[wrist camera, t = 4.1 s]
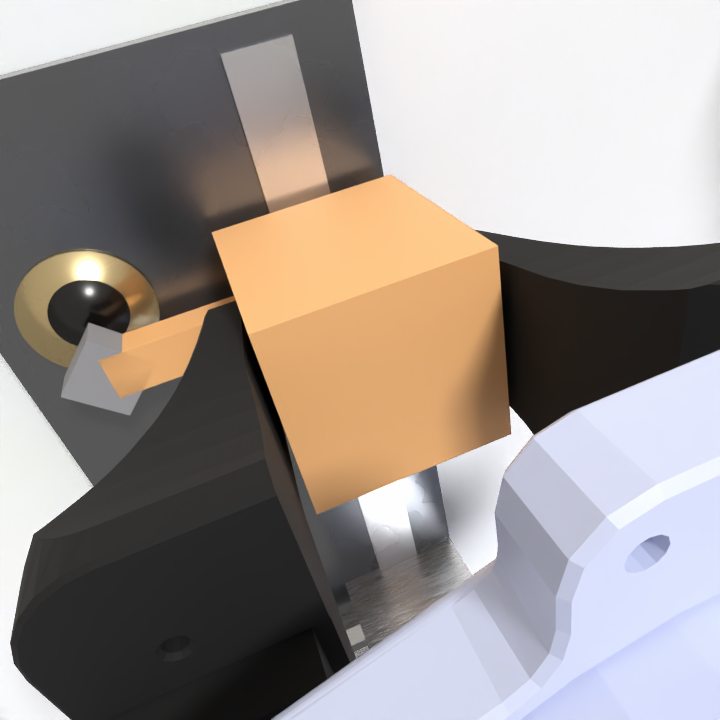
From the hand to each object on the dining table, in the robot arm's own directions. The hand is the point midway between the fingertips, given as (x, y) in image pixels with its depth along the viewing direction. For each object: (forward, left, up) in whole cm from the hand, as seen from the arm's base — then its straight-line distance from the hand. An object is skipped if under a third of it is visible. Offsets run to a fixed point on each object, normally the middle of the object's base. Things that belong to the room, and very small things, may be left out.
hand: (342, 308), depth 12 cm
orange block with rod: (0, +2, -1) cm, 2 cm away
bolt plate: (-5, +2, -3) cm, 6 cm away
